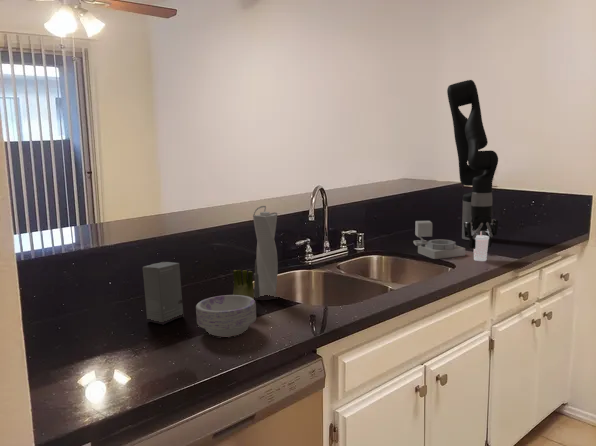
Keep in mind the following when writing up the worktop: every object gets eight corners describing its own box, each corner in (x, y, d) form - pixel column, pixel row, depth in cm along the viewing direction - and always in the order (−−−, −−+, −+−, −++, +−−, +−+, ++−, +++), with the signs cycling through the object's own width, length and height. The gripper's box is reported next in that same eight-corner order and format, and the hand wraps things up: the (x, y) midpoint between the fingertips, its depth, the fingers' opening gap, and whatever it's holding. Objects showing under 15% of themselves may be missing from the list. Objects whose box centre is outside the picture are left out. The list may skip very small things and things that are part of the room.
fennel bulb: (256, 310, 158) (254, 269, 156) (244, 314, 154) (242, 273, 152) (242, 306, 162) (241, 266, 160) (230, 310, 158) (228, 270, 156)
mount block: (447, 249, 228) (447, 237, 227) (465, 255, 217) (465, 243, 216) (417, 253, 223) (418, 241, 222) (434, 259, 212) (434, 246, 211)
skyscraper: (253, 293, 174) (249, 206, 170) (279, 291, 175) (276, 204, 171) (254, 301, 166) (250, 209, 161) (281, 299, 167) (278, 208, 162)
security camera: (432, 245, 237) (432, 222, 235) (415, 245, 237) (416, 223, 235) (429, 242, 243) (429, 220, 241) (413, 242, 243) (413, 220, 241)
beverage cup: (489, 261, 206) (490, 225, 204) (472, 261, 207) (473, 224, 205) (487, 257, 212) (488, 222, 209) (471, 257, 213) (471, 222, 211)
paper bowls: (217, 319, 151) (215, 291, 150) (266, 325, 146) (265, 296, 144) (185, 338, 138) (183, 308, 136) (239, 346, 132) (237, 314, 130)
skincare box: (163, 326, 146) (159, 269, 144) (144, 322, 150) (140, 266, 148) (185, 317, 154) (181, 262, 151) (167, 313, 157) (163, 259, 155)
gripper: (490, 201, 212) (489, 244, 214) (459, 204, 207) (458, 247, 210) (504, 204, 205) (502, 247, 207) (471, 206, 200) (470, 251, 203)
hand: (480, 247), depth 209 cm, fingers open, 6 cm apart
